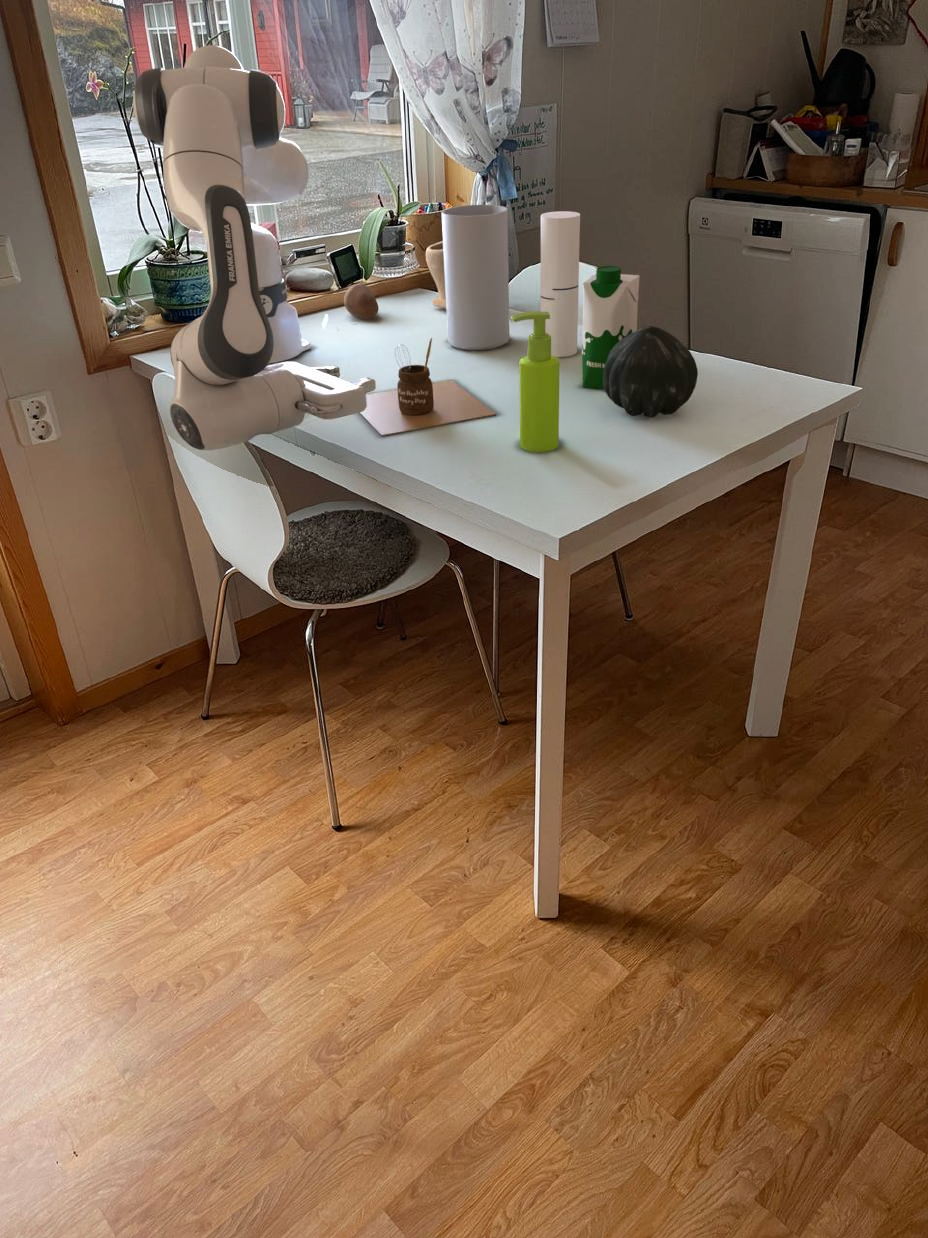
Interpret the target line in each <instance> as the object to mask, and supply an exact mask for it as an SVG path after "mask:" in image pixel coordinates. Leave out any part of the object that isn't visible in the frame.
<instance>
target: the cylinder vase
mask: <svg viewBox="0 0 928 1238" xmlns="http://www.w3.org/2000/svg"><path fill="white" fill-rule="evenodd" d="M508 220H509V219H508V207H506V206H504V205H498V204H497V205H496V204H467V205H458V206H452V207H448V208H445V209H443V210H441V227H442V228H441V231H442V241H443V252H444V271H445V291H446V309H445V311H446V327H447V328H446V329H447V341H448V343H449V344H450V345H451V346H453V347H454V348H457V349H459V350H468V351H485V350H491V349H496V348H499V347H502V346H504V345H505V344H507V343H508V342H509V340H510V287H509V285H510V284H509V283H510V282H509V281H510V280H509V237H508V236H509V231H508V230H509V227H508V226H509V225H508Z"/></svg>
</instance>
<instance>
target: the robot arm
mask: <svg viewBox="0 0 928 1238" xmlns="http://www.w3.org/2000/svg"><path fill="white" fill-rule="evenodd" d="M132 108H133V113H134V118H135V120H136V122H137V125H138V127H139V130H140V133H141V134H142V136H143V137H144V138H145V139H146V140H147V141H149V142H150V143H151V144H153V145H156V146H160V147H162V148H163V149H162V157H163V158H162V164H163V165H162V166H163V167H162V169H163V187H164V193H165V197H166V201H167V205H168V206H167V207H168V209H169V212H170V213H171V215H172V216H173V217H174V218H175V220H176V221H178V222H179V223H180V224H181V225H182V226H184V228H185V227H186V228H187V229H189V230H190V231H193V232H196V233H200V234H201V235H202V236H203V238H204V242H205V246H206V255H207V256H206V257H207V264H208V265H207V267H208V274H209V275H208V277H209V286H210V298H209V302H208V304H207V307H206V309H205V311H204V312H203V314H201V316H199V317H197V318H196V319H194V320H192V321H191V322H189V323H188V324H186V325H185V326H184V327H181V328H180V330H178V331H177V333H176V334H175V335H174V337H173V338H172V341H171V343H170V351H169V353H170V354H169V355H170V361H171V363H172V367H173V371H174V393H173V397H172V401H171V403H170V407H169V415H170V418H171V422H172V424H173V427H174V429H175V430H176V432H177V433H178V435H179V437H181V439H182V440H183V441H184V442H185V443H186V444H188V445H189V446H190V447H192V448H193V449H195V450H198V451H215V450H221V449H225V448H229V447H234V446H236V445H241V444H243V443H247V442H250V441H251V440H252V439H254V438H255V437H257V436H261V435H271V434H272V435H273V434H274V433H278V432H281V431H285V430H288V429H291V428H294V427H297V426H300V425H301V424H302V423H303V422H304V419H305V416H306V414H308V415H311V416H314V417H316V418H318V419H322V420H335V419H336V420H337V419H340V418H344V417H348V416H352V415H356V414H360V412H362V411H364V410H365V409H366V407H367V401H366V395H367V394H369V393H371V392H374V391H375V390H376V379H374V378H370V377H365V378H361V379H359V382H358V383H356V382H352V381H349V380H347V379H343V378H341V372H340V367H339V366H336V365H333V364H332V365H327V366H315V367H314V366H313V367H310V366H307V365H305V364H302V363H299V362H296V361H288V360H290V359H293V358H295V357H297V356H299V355H300V354H301V353H303V352H305V351H307V350H310V349H311V348H312V347H311V342H310V341H307V340H306V339H303V338H302V333H301V327H300V322H299V316H298V309H297V308H296V307H295V306H293V305H292V304H291V303H290V302H289V301H288V288H287V285H286V280H285V279H284V278H283V273H282V266H281V257H280V251H279V244H278V241H277V239H276V238H275V236H274V235H273V234H272V233H271V232H270V231H269V230H268V229H266V228H264V227H262V226H259V225H257V224H254V223H253V222H252V221H251V215H250V211H249V208H248V207H250V206H266V205H277V204H281V203H284V202H289V201H291V200H295V199H298V198H300V197H301V196H302V195H303V193H304V192H305V190H306V188H307V185H308V182H309V165H308V162H307V158H306V156H305V154H304V153H303V151H302V149H300V147H299V146H298V144H297V143H295V142H294V141H291V140H288V139H286V138H283V137H281V134H282V131H283V129H284V126H285V122H286V106H285V101H284V98H283V94H282V92H281V89H280V88H279V84H278V82H277V80H275V79H274V78H273V77H272V76H271V75H270V74H268V73H266V72H264V71H260V70H257V69H252V68H251V69H249V71H248V70H245V69H244V68H243V66H242V64H241V62H240V60H239V59H238V58H237V57H236V55H235V54H234V53H232V52H231V51H230V50H228V49H227V48H225V47H222V46H219V45H214V44H213V45H212V44H208V45H203V46H201V47H198V48H196V49H195V50H194V51H192V52H191V53H190V55H188V57H187V59H186V60H185V62H184V66H183V67H178V68H167V69H164V68H163V67H156V68H155V67H154V68H151V69H146V70H144V71H142V72H141V73H140V75H139V76H138V77H137V79H136V80H135V83H134V90H133V95H132ZM328 320H329V315H328V314H327V313H325V315H324V318H323V321H322V323H321V325H322V326H321V327H322V330H325V329H326V326H327V323H328Z"/></svg>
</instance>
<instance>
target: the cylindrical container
mask: <svg viewBox="0 0 928 1238" xmlns="http://www.w3.org/2000/svg"><path fill="white" fill-rule="evenodd" d="M580 231H581V213H579V212H577V211H571V210H570V211H569V210H566V211H565V210H561V211H560V210H558V211H549V212H543V213H541V214H540V308H539V309H540V311H542V312H548V313H549V314H550V319H545V333H547V334H548V335H550V336H551V356H554V357H557V358H566V357H567V358H568V357H571V356H574V355H576V354H577V353H578V328H579V326H578V325H579V323H578V322H579V287H580V286H579V284H580V283H579V281H580V280H579V278H580V239H581V238H580V237H581V232H580Z"/></svg>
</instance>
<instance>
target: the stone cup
mask: <svg viewBox="0 0 928 1238" xmlns="http://www.w3.org/2000/svg"><path fill="white" fill-rule="evenodd" d="M425 261H426V265H427V268H428V270H429V272H430V274H431V277H432V279H433V280H434V283H435V285H436V289H437V292H438V293H437V297H435V298H434V299H432V300H431V304H432V305H433V306H434V307H437V308H439V309H444V310H446V291H445V271H444V252H443V240H441V241H439V242H436V243H433V244H431V245H429V246H428V247H427V248H426V250H425Z"/></svg>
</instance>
